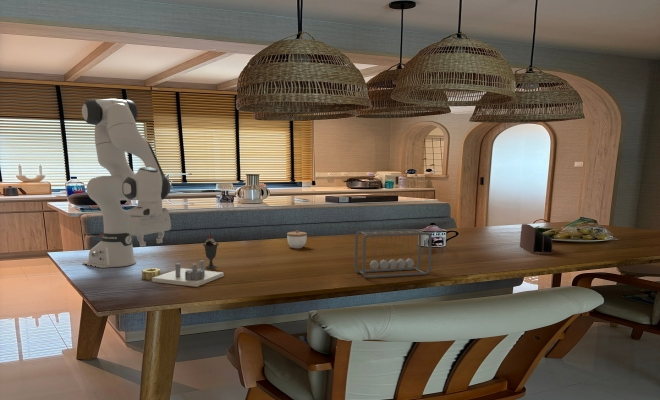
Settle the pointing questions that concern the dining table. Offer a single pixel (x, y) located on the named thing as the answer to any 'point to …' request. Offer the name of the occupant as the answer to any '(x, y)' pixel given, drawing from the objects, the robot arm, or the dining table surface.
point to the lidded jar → (296, 239)
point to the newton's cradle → (392, 262)
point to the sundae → (210, 250)
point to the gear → (150, 273)
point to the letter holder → (534, 241)
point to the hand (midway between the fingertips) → (151, 244)
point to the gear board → (188, 276)
